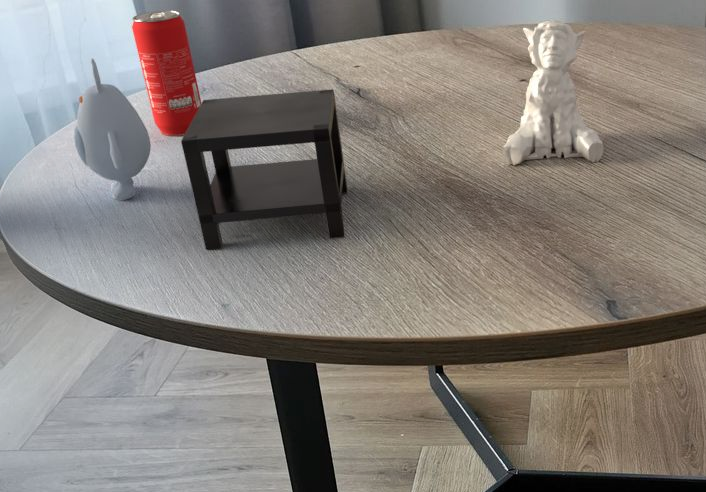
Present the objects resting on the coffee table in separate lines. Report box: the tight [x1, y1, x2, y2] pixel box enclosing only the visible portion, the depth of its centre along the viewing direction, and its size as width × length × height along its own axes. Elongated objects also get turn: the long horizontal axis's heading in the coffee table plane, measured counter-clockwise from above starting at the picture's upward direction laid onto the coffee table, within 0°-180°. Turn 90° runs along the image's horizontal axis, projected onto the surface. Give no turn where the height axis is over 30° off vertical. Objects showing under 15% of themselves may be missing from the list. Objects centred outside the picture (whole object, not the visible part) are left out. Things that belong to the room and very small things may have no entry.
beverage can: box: [131, 10, 202, 137], centre depth 101 cm, size 5×5×12 cm
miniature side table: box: [180, 89, 348, 251], centre depth 79 cm, size 11×11×9 cm
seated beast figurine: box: [500, 19, 605, 167], centre depth 90 cm, size 10×9×12 cm
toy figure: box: [73, 58, 152, 201], centre depth 85 cm, size 11×6×12 cm, turn 23°
